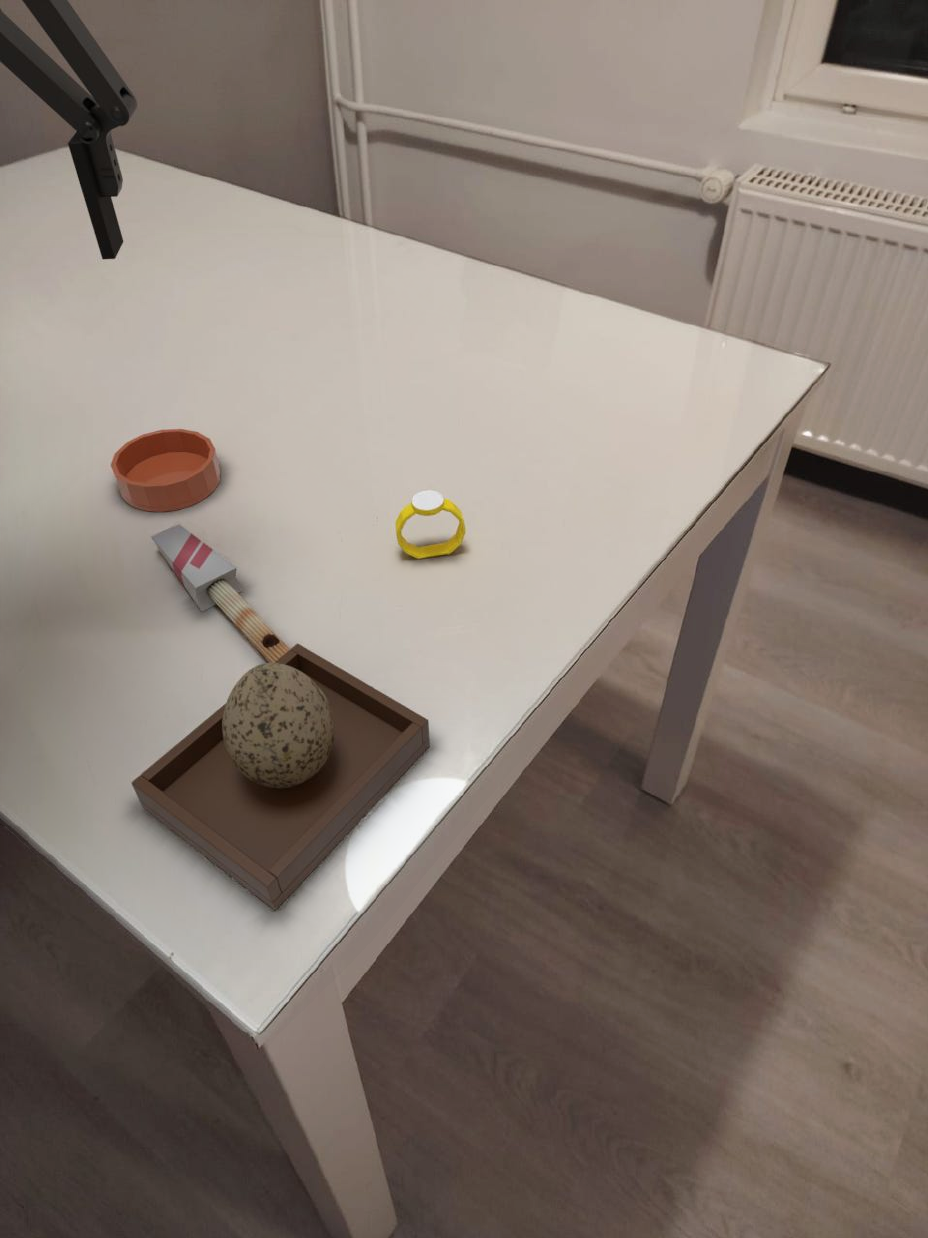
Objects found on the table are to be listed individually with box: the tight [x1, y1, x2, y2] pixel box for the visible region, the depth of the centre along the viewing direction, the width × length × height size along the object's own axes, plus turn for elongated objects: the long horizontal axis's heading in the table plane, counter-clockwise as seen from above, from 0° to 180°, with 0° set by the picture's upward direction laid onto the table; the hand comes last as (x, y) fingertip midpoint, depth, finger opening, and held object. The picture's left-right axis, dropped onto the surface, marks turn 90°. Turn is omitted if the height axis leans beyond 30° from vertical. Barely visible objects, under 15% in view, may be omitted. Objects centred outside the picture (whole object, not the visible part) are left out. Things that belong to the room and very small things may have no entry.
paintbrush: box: [150, 523, 291, 663], centre depth 72 cm, size 4×3×20 cm
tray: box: [131, 643, 431, 911], centre depth 60 cm, size 16×13×3 cm
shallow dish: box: [110, 428, 221, 513], centre depth 84 cm, size 10×10×3 cm
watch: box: [395, 489, 467, 560], centre depth 75 cm, size 6×3×6 cm, turn 100°
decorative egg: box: [222, 662, 335, 788], centre depth 56 cm, size 7×7×10 cm
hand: (1, 255), depth 54 cm, fingers open, 13 cm apart
